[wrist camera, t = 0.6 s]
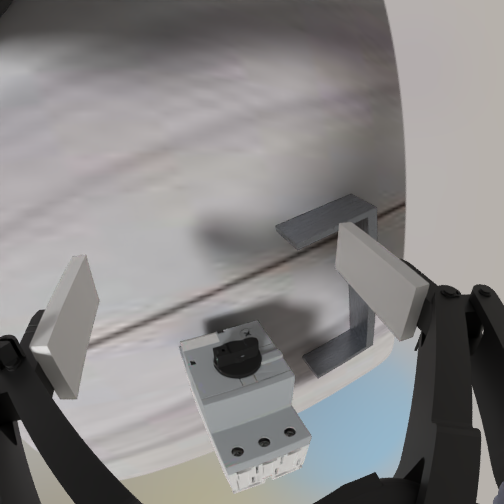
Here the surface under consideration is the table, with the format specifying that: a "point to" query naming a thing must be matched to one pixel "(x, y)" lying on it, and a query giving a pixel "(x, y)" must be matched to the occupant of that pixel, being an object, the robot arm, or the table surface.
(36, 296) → the table surface
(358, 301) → the grey u-shaped bracket
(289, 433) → the circuit breaker
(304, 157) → the table surface
